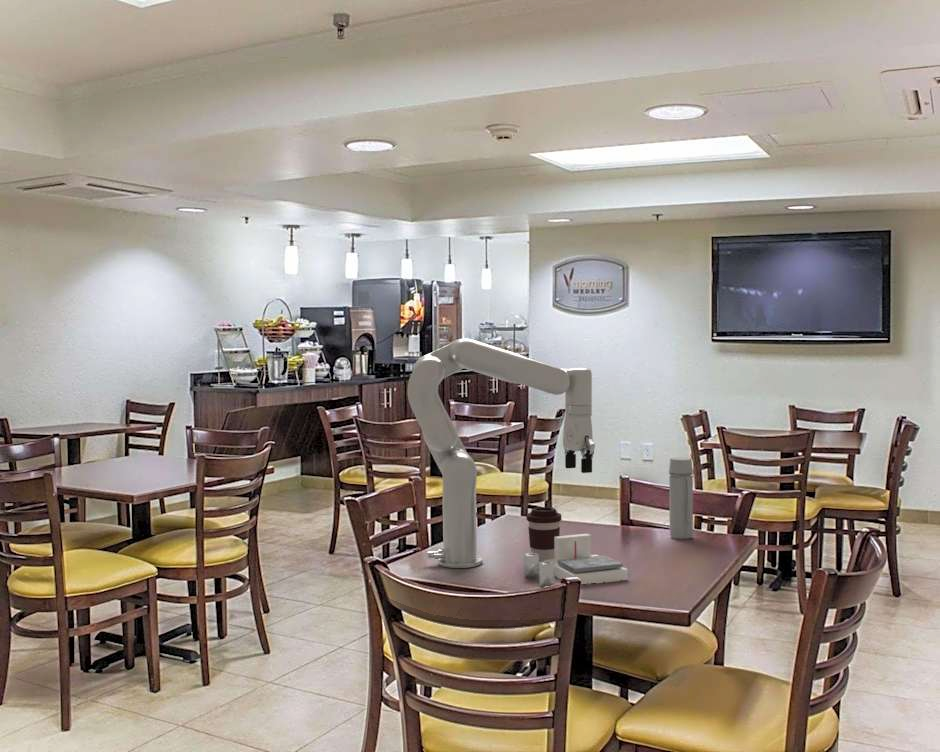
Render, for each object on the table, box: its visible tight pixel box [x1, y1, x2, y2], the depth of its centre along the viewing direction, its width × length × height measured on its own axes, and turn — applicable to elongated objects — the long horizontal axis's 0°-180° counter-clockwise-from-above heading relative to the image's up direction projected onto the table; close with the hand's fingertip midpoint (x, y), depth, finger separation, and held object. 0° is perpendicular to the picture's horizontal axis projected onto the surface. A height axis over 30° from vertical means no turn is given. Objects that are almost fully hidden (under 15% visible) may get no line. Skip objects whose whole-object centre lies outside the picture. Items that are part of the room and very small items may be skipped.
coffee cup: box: [526, 506, 563, 563], centre depth 259 cm, size 10×10×15 cm
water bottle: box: [668, 456, 695, 540], centre depth 286 cm, size 9×8×25 cm
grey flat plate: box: [558, 554, 623, 573], centre depth 242 cm, size 14×10×1 cm
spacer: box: [538, 561, 556, 588], centre depth 234 cm, size 4×4×6 cm
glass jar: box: [523, 552, 539, 580], centre depth 243 cm, size 4×4×6 cm
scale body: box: [544, 533, 629, 585], centre depth 244 cm, size 16×18×9 cm
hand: (578, 470), depth 262 cm, fingers open, 9 cm apart
